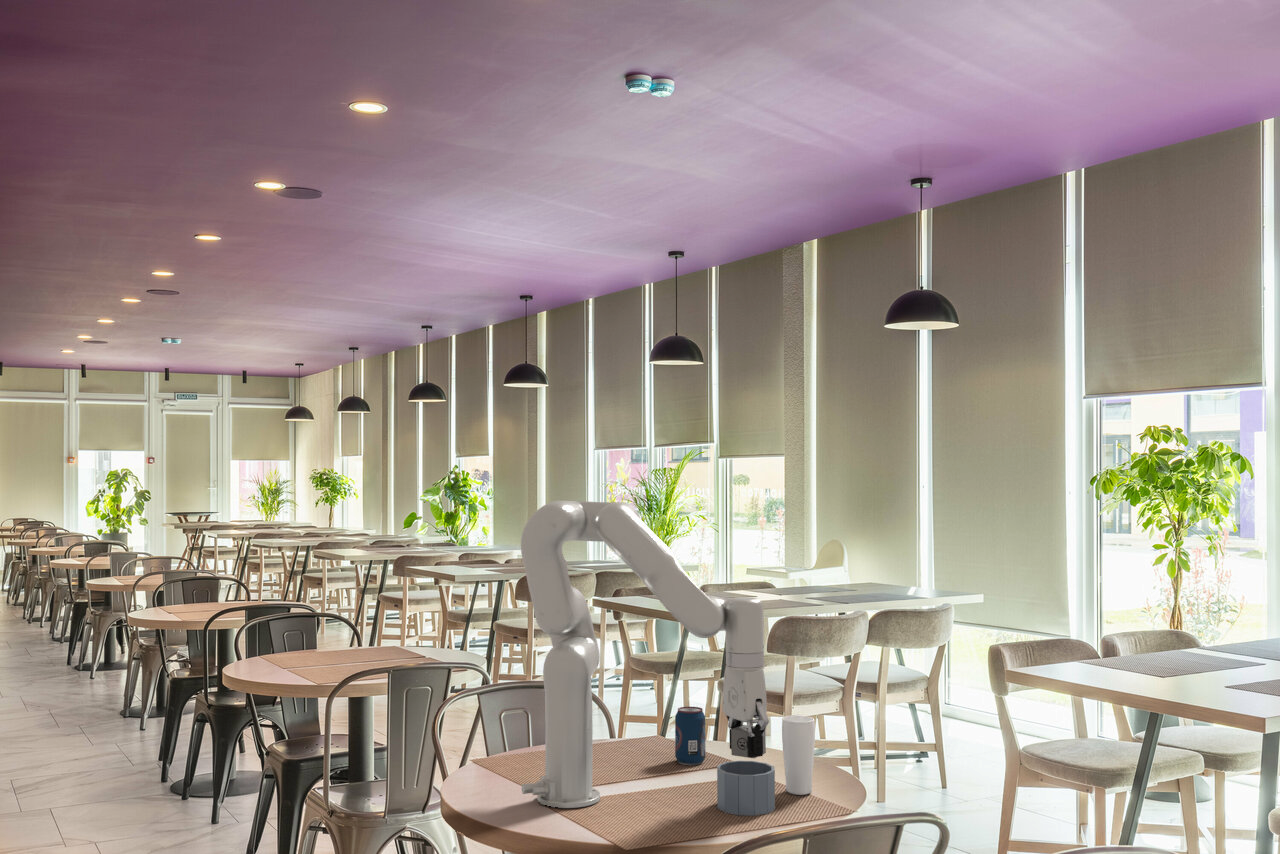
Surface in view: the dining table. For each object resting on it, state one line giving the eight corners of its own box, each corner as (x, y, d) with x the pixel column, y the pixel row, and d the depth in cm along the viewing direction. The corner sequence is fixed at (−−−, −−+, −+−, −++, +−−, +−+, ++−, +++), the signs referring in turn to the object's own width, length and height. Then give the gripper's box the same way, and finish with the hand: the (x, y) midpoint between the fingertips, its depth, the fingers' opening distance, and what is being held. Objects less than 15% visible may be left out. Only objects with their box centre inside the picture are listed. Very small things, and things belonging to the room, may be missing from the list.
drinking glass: (819, 790, 219) (818, 716, 220) (810, 798, 213) (809, 723, 214) (787, 786, 222) (787, 713, 223) (778, 794, 216) (777, 720, 217)
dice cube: (754, 758, 205) (753, 732, 206) (731, 755, 208) (731, 729, 208) (765, 753, 209) (765, 727, 210) (743, 749, 212) (743, 724, 213)
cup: (735, 818, 200) (735, 778, 201) (707, 802, 210) (707, 764, 211) (785, 810, 205) (785, 771, 205) (755, 795, 215) (755, 758, 215)
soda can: (673, 758, 245) (673, 706, 246) (702, 757, 246) (702, 705, 246) (677, 766, 238) (677, 712, 239) (707, 765, 239) (707, 711, 239)
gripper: (707, 655, 215) (708, 745, 214) (751, 668, 200) (752, 765, 199) (739, 653, 219) (740, 741, 218) (784, 665, 203) (786, 760, 202)
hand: (746, 751), depth 208 cm, fingers closed on dice cube, 6 cm apart
